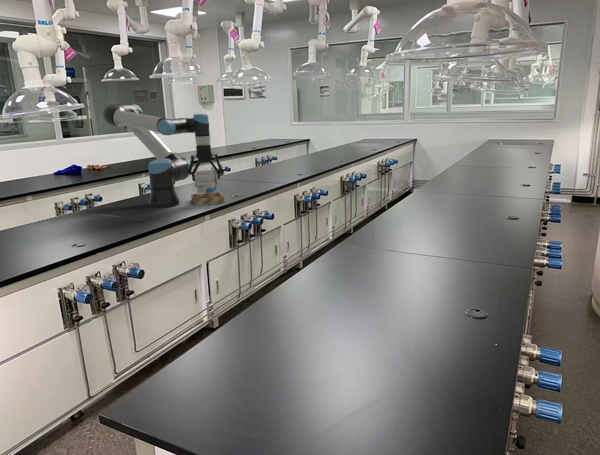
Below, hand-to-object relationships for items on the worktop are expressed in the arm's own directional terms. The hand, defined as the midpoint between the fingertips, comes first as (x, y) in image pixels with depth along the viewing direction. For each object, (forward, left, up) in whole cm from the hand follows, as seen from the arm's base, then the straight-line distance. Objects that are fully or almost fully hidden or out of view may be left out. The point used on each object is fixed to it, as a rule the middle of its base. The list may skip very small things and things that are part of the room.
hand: (206, 186), depth 239 cm
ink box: (0, 0, -3) cm, 3 cm away
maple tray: (0, 0, -8) cm, 8 cm away
